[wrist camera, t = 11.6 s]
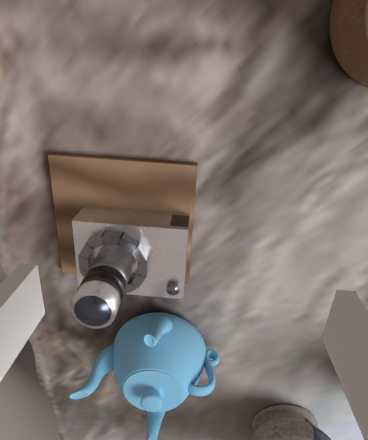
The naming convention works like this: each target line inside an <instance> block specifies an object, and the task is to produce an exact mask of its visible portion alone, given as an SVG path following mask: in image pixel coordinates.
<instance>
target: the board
mask: <svg viewBox="0 0 368 440" xmlns="http://www.w3.org/2000/svg"><path fill="white" fill-rule="evenodd" d="M48 161H49V169H50V177H51V185H52V194H53V202H54V210H55V218H56V226H57V234H58V242H59V250H60V258H61V266H62V273H66V274H77V268H76V258H75V248H74V238H73V228H72V220H73V219H74V218H75V217H76V215H77V214H78V213H79V212H80V211H81V210H82V208H83V207H84V206H95V207H108V208H121V209H134V210H146V211H159V212H172V213H185V214H190V220H189V234H188V248H187V262H186V277H185V284H188V280H189V267H190V254H191V241H192V228H193V214H194V201H195V188H196V175H197V163H186V162H172V161H158V160H144V159H131V158H117V157H103V156H89V155H75V154H62V153H50V154H49V155H48Z"/></svg>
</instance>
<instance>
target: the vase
mask: <svg viewBox="0 0 368 440" xmlns="http://www.w3.org/2000/svg"><path fill="white" fill-rule="evenodd" d="M252 431H253V434H252V435H251V436H250V438H249V439H248V440H331V439H330V438H329V437H328V436H327V435H326V434H325V433H324V432H323V431H321V430H320V429H319V428H318V425H317V421H316V419H315V417H314V415H313V414H312V413H310V412H309V411H308V410H306V409H304V408H302V407H298V406H295V405H287V404H283V405H275V406H270V407H267V408H265V409H263V410H261V411H260V412H258V413H257V414H256V416H255V417H254V419H253V422H252Z"/></svg>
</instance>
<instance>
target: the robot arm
mask: <svg viewBox="0 0 368 440" xmlns="http://www.w3.org/2000/svg"><path fill="white" fill-rule="evenodd" d="M44 314H45V310H44V304H43V298H42V292H41V285H40V279H39V273H38V267H37V265H34V264H22V263H20V264H19V265H18V266H17V267H16V268H15V269H14V271H13V272H12V273H11V274H10V275H9V276H8V277H7V278H6V279H5V280H4V281H3V282H2V283H1V285H0V382H1V380H2V379H3V377H4V375H5V374H6V372H7V371H8V369H9V368H10V366H11V365H12V363H13V362H14V360H15V359H16V357H17V356H18V354H19V352H20V351H21V349H22V348H23V346H24V345H25V343H26V342H27V340H28V339H29V337H30V336H31V334H32V332H33V331H34V329H35V328H36V326H37V325H38V323H39V322H40V320H41V319H42V317H43V316H44ZM322 340H323V342H324V345H325V347H326V349H327V352H328V354H329V356H330V359H331V361H332V364H333V366H334V368H335V371H336V373H337V376H338V378H339V380H340V383H341V385H342V387H343V390H344V392H345V395H346V397H347V399H348V402H349V404H350V406H351V409H352V411H353V414H354V416H355V418H356V421H357V423H358V426H359V428H360V430H361V433H362V435H363V437H364V440H368V311H367V309H366V308H365V306H364V305H363V303H362V302H361V300H360V299H359V297H358V295H357V294H356V292H355V291H344V290H337V291H336V294H335V297H334V300H333V303H332V307H331V310H330V313H329V316H328V319H327V322H326V326H325V329H324V332H323V335H322Z"/></svg>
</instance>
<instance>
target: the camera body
mask: <svg viewBox="0 0 368 440" xmlns="http://www.w3.org/2000/svg"><path fill="white" fill-rule="evenodd" d="M189 220H190V214H185V213H172V212H159V211H146V210H134V209H121V208H108V207H95V206H84V207H83V208H82V210H81V211H80V212H79V213H78V214H77V215H76V217H75V218H74V219H73V220H72V228H73V238H74V248H75V258H76V268H77V278H78V288H79V286H80V284H81V282H82V280H83V279H84V277H85V275H86V273H87V272H88V271H89V269H90V267H91V265H92V263H93V261H94V260H95V258H96V256H97V254H98V252H99V251H100V250H101V249H102V248H103V247H105V246H108V245H118V246H120V247H122V248H124V249H126V250H127V251H129V252H130V254H131V255H132V257H133V262H134V263H133V268H132V271H131V274H130V277H129V280H128V282H127V285H126V290H125V292H124V294H131V295H142V296H154V297H165V298H177V299H183V297H184V287H185V277H186V262H187V248H188V234H189Z"/></svg>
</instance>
